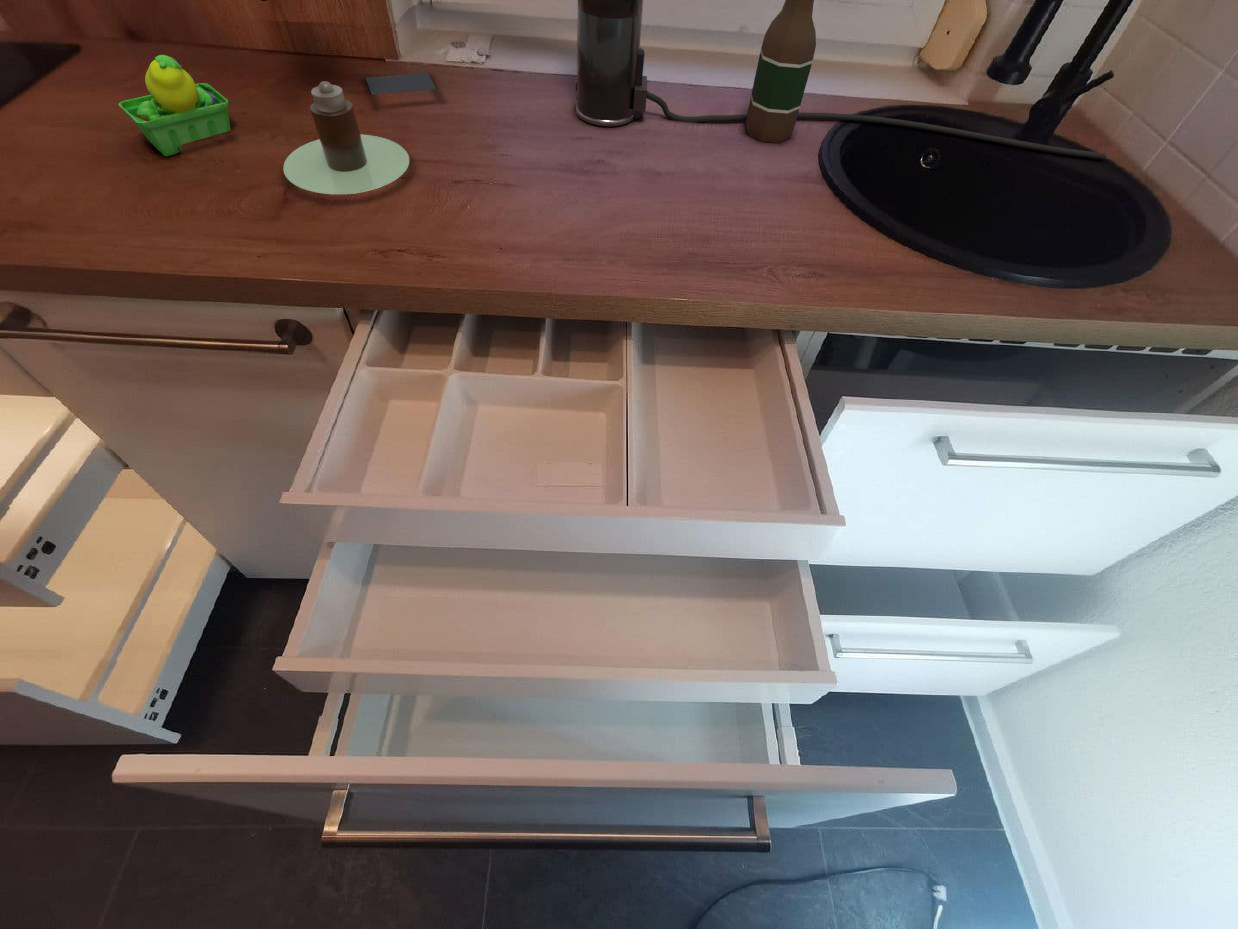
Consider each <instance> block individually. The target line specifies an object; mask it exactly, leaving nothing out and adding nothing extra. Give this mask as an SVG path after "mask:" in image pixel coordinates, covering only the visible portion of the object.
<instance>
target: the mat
mask: <svg viewBox="0 0 1238 929" xmlns="http://www.w3.org/2000/svg"><path fill="white" fill-rule="evenodd" d="M365 81H366V85H367V87H368V89H369V93H370V95H371V96H375V95H386V94H387V95H388V94H399V93H407V92H408V93H409V92H418V91H419V92H420V91H429V90H436V89H437V88H436V86H435V84H434V82H433V80H432V78H431V76H430V74H429V72H419V73H406V74H395V75H381V76H371V77H370V76H369V77H365Z"/></svg>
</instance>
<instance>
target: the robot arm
mask: <svg viewBox="0 0 1238 929" xmlns="http://www.w3.org/2000/svg"><path fill="white" fill-rule="evenodd" d="M260 1H261V2H268V0H260ZM643 8H644V0H577V19H576V20H577V23H576V24H577V25H576V27H577V30H576V31H577V33H576V34H577V35H576V37H577V38H576V57H577V58H576V83H575V92H576V105H575V114H576V115H577V117H578V118H579V119H581V120H582V121H584V122H585V123H588V124H591V125H594V126H600V127H618V126H624V125H626V124H629V123H631V122H632V121H633V120H637V119H640V115H641V114H640V113H645V112H646V110H647V100H650V101H651V102H654V103H656V104H657V105H658V106H660V108H661V109H662V113H663V114H664V116H665V117H666V118H668V119H670V120H671V121H674V122H683V123H691V124H699V123H700V124H701V123H715V122H717V123H721V122H722V123H728V122H744V121H745V122H746V118H747V113H744V114H743V113H741V114H711V115H699V116H682V115H678V114H676V113H674V112H672V111H670V109H669V107H668V104H667V102H666V101H665V100H664V99H663V98H662V97H660V96H658V95H657V94H654V93H652V92H650V91H648V76H647V75H644V65H645V50H644V48H643V47H642V46H641V37H642V36H641V35H642V22H643ZM797 120H834V121H846V122H847V121H848V122H860V123H870V124H879V125H887V126H888V125H889V126H896V127H903V128H910V129H917V130H923V131H928V132H933V133H934V132H935V133H940V134H946V135H950V136H957V137H961V138H967V139H973V140H979V141H983V142H988V143H994V144H1000V145H1005V146H1009V147H1015V148H1021V149H1027V150H1031V151H1038V152H1043V153H1050V154H1056V155H1062V156H1063V155H1064V156H1070V157H1078V158H1084V159H1092V160H1098V161H1099V160H1100V161H1104V160H1105V158H1106V157H1107V153H1103V152H1098V151H1097V152H1095V151H1087V150H1081V149H1073V148H1066V147H1060V146H1059V147H1058V146H1052V145H1046V144H1042V143H1036V142H1035V143H1034V142H1029V141H1024V140H1019V139H1013V138H1007V137H1003V136H996V135H991V134H986V133H980V132H976V131H970V130H965V129H959V128H955V127H954V128H953V127H947V126H944V125H943V126H942V125H936V124H930V123H924V122H919V121H912V120H904V119H896V118H890V117H882V116H875V115H874V116H873V115H864V114H862V115H861V114H851V113H850V114H849V113H838V112H837V113H836V112H835V113H834V112H805V111H803V112H802V111H801V112H800V111H799V112H798V116H797Z"/></svg>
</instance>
